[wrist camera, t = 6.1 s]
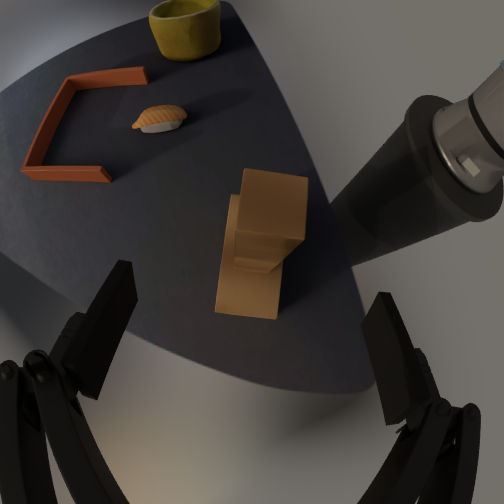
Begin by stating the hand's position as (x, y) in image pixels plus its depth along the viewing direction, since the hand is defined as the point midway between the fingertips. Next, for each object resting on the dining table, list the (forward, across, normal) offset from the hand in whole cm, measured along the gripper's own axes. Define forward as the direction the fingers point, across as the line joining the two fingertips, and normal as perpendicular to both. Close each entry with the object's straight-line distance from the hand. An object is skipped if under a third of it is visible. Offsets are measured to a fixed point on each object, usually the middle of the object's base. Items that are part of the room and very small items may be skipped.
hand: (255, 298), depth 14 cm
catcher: (+21, -22, +4) cm, 31 cm away
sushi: (+21, -12, +4) cm, 24 cm away
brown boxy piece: (+11, 0, -6) cm, 12 cm away
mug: (+33, -13, +16) cm, 39 cm away
